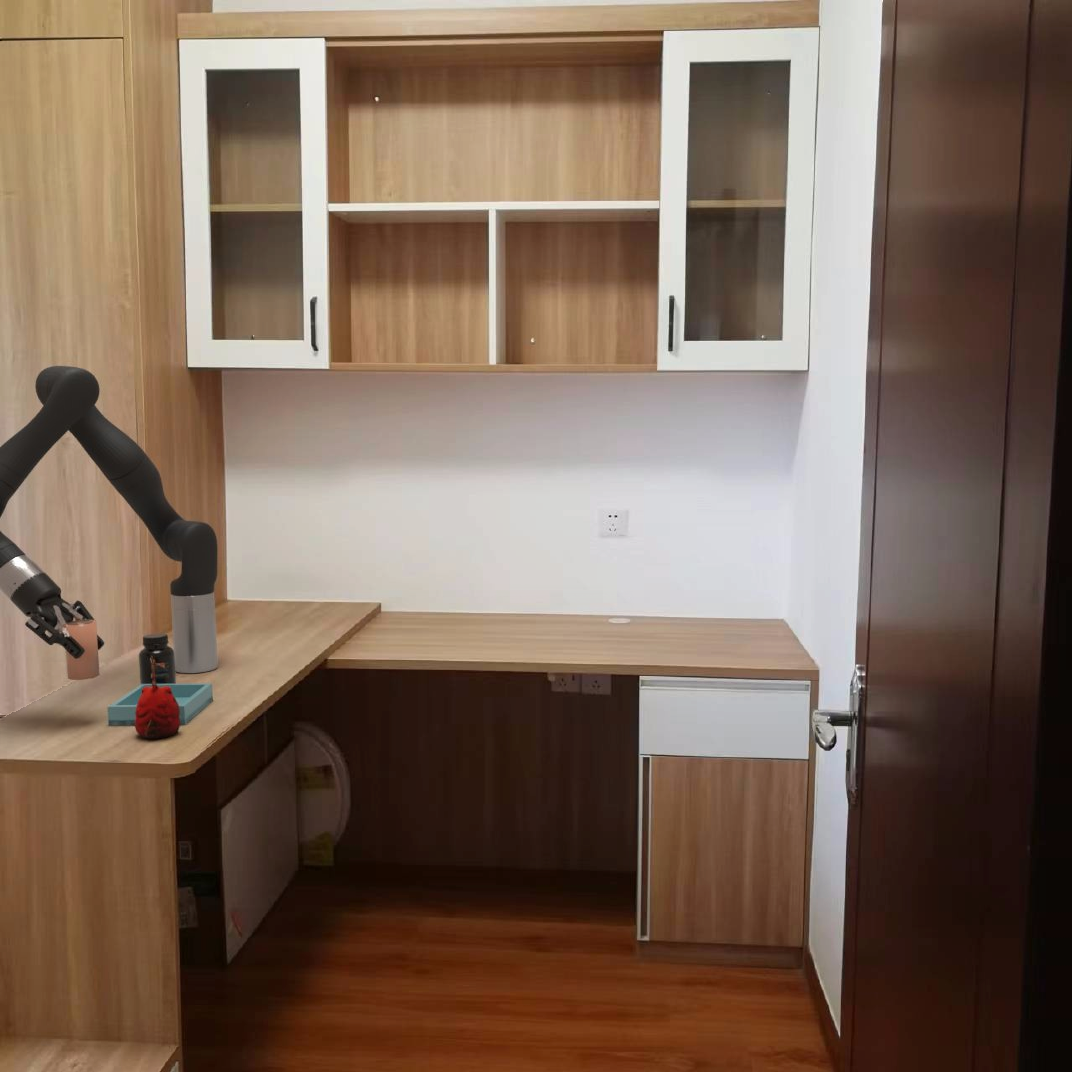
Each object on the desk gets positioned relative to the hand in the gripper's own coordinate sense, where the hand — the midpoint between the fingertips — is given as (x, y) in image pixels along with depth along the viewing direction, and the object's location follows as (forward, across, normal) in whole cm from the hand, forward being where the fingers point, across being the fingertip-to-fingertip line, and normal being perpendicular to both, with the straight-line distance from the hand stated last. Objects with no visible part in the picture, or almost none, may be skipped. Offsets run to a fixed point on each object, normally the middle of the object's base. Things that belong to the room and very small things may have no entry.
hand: (90, 651), depth 185 cm
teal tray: (+16, +8, +3) cm, 18 cm away
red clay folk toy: (+21, -5, -1) cm, 21 cm away
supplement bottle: (+10, +20, +10) cm, 25 cm away
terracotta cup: (+2, 0, +5) cm, 5 cm away
